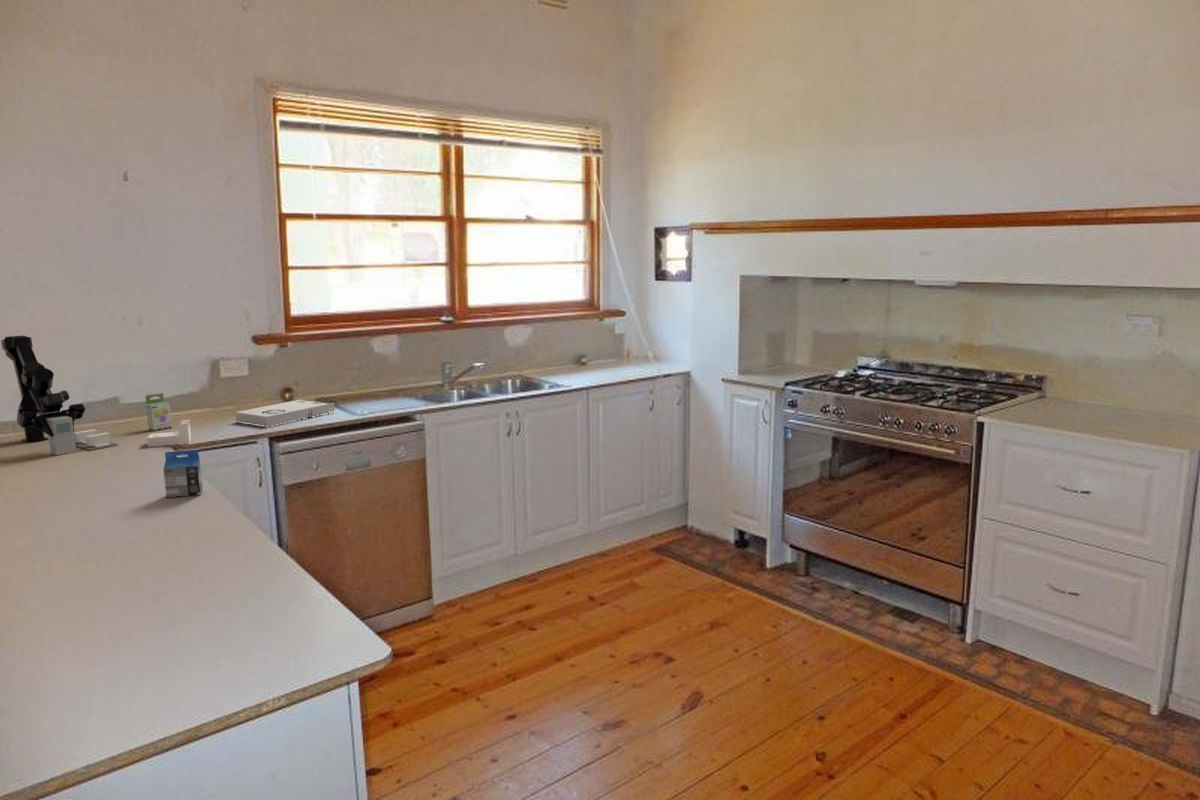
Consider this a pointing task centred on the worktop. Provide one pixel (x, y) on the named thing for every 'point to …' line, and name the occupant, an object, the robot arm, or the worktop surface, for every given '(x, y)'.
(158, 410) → the ink box
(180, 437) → the bracket
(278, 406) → the power supply unit
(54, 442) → the grey module
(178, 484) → the blue retail package
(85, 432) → the module rail
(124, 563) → the worktop surface
